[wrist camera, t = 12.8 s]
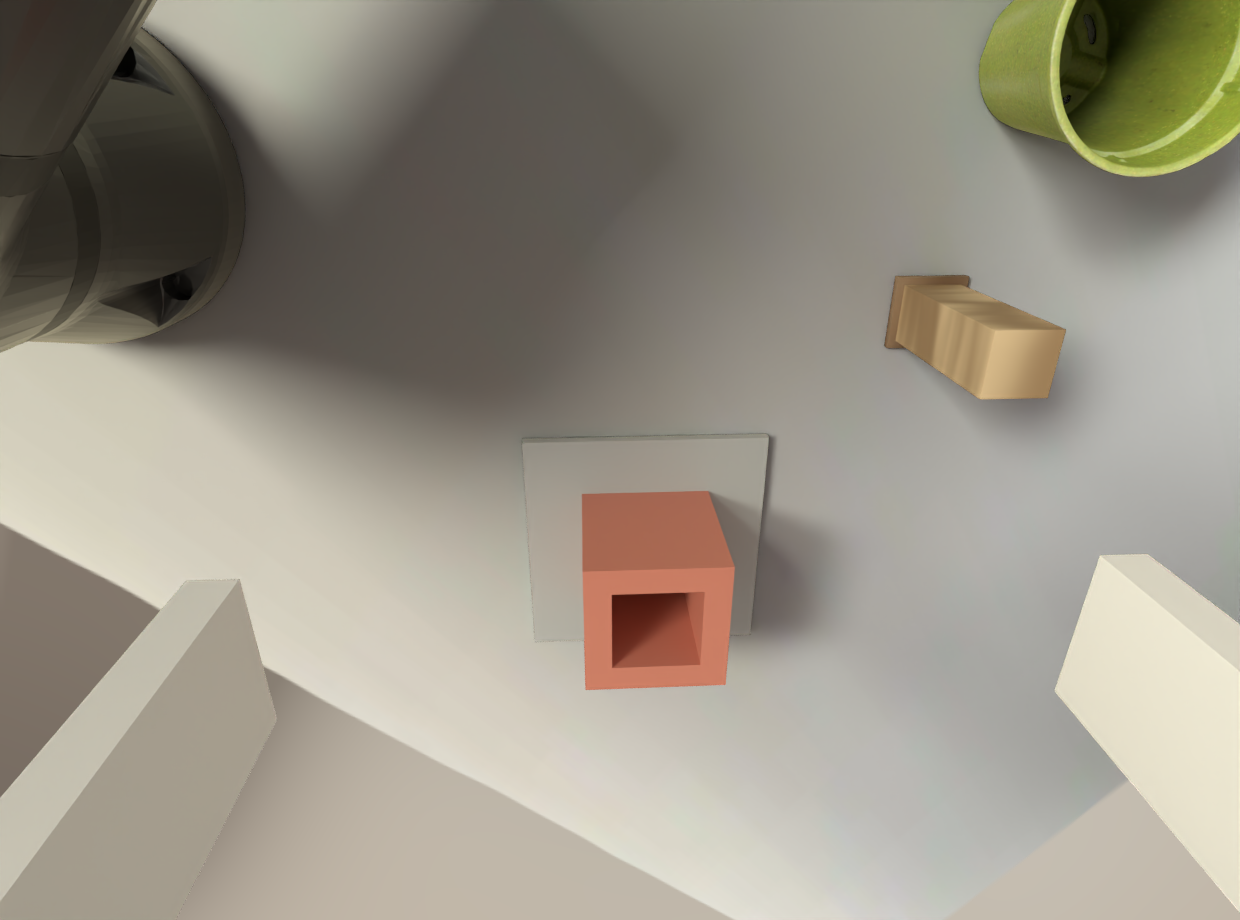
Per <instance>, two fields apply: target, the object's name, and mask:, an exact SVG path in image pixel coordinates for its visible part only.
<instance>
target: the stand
mask: <svg viewBox="0 0 1240 920" xmlns="http://www.w3.org/2000/svg"><path fill="white" fill-rule="evenodd" d="M968 281H969V276H966V275H945V276H895V282H894V288H893V294H892V301H891V307H890V313H889V319H888V326H887V332H886V338H885V344H884V346H885V347H886V348H906V349H908V350H909V351H911V352H912V353H914V354H915V355H917V356H918V357H919V358H921V359H922V360H924V361H925V362H927V363H928V364H930V365H931V366H932V367H934V368H935V369H937V370H938V371H940V372H941V373H942V374H944V375H945V376H947V377H948V378H950V379H951V380H953V381H954V382H955V383H957V384H958V385H960V386H961V387H963V388H964V389H966V390H967V391H968V392H970V393H971V394H973V395H974V396H976V397H977V398H979V399H1023V398H1048V395H1049V391H1050V387H1051V384H1052V380H1053V376H1054V373H1055V369H1056V365H1057V361H1058V358H1059V354H1060V350H1061V347H1062V343H1063V339H1064V335H1065V332H1066V329H1063V328H1061V327H1059V326H1056V325H1054V324H1052V323H1049V322H1047V321H1045V320H1042V319H1040V318H1038V317H1035V316H1033V315H1031V314H1028V313H1026V312H1024V311H1021V310H1019V309H1017V308H1014V307H1012V306H1010V305H1007V304H1005V303H1003V302H1000V301H998V300H996V299H993V298H991V297H989V296H986V295H984V294H981V293H979V292H977V291H974V290H972V289H970V288H967V286H968Z"/></svg>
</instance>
